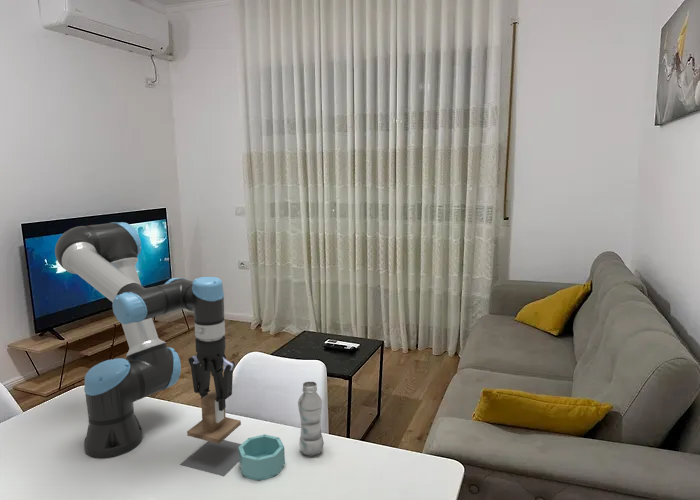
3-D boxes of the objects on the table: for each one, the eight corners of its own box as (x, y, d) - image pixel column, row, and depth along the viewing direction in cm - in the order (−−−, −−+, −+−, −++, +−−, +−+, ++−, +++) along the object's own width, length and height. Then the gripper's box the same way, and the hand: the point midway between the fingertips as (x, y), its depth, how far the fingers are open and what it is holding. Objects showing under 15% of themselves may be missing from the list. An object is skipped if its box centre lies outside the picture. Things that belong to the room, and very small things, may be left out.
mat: (179, 465, 131) (179, 464, 131) (212, 438, 144) (212, 437, 144) (223, 477, 126) (223, 476, 126) (253, 448, 139) (253, 447, 139)
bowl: (232, 475, 127) (231, 453, 126) (255, 451, 137) (254, 432, 136) (269, 485, 123) (268, 463, 122) (290, 460, 133) (290, 439, 132)
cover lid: (187, 435, 132) (185, 400, 130) (210, 417, 141) (209, 383, 139) (218, 443, 128) (217, 407, 126) (240, 424, 137) (239, 390, 135)
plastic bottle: (320, 460, 133) (318, 390, 130) (296, 457, 134) (294, 388, 131) (326, 446, 139) (325, 380, 136) (303, 444, 141) (301, 378, 137)
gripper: (175, 336, 129) (180, 419, 133) (227, 346, 123) (231, 432, 127) (194, 327, 135) (198, 406, 140) (244, 336, 130) (247, 418, 134)
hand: (214, 418), depth 134 cm, fingers closed on cover lid, 3 cm apart
